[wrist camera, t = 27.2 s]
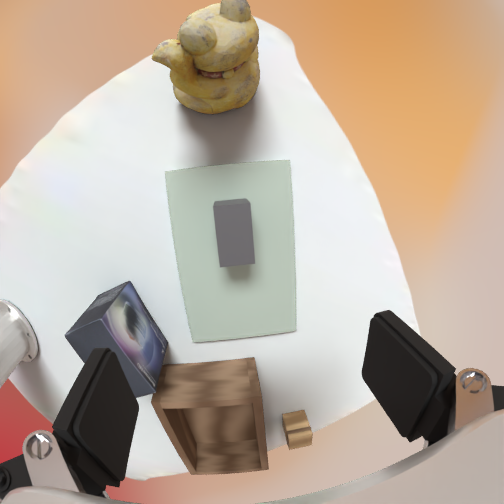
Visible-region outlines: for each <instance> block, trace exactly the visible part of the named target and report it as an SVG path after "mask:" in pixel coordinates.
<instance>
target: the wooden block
mask: <svg viewBox="0 0 504 504" xmlns="http://www.w3.org/2000/svg"><path fill="white" fill-rule="evenodd" d="M282 415H283V428H284V432H285V436H286V440H287V445H288V447H289V450H290V449H295V448H300V447H305V446H309V445H311V444H312V435H313V434H312V431H311V427H310V425H309V422H308V419H307V416H306V414H305V411H304V410H301V411H296V412H291V413H286V414H282Z"/></svg>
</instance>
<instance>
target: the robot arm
mask: <svg viewBox="0 0 504 504" xmlns="http://www.w3.org/2000/svg"><path fill="white" fill-rule="evenodd" d="M37 352H38V345H37V340H36V337H35V334H34V332H33V330H32V328H31V326H30V324H29V322H28V321H27V319H26V318H25V317H24V315H23V314H22V313H21V312H20V311H19V310H18V308H16V307H15V306H14V305H13V304H11V303H10V302H8V301H6V300H1V299H0V387H1V386H2V385H3V384H4V382H5V381H6V380H7V378H8V377H9V376H10V374H11V373H12V372H13V371H14V369H15V368H16V367H17V366H18V364H19V363H20V362H21V361H23V362H30V361H32V360H33V359H34V358H35V357H36V355H37ZM455 370H456V368H455V367H454V366H452V365H451V364H450V363H449V362H448V361H447V360H446V359H445V358H444V357H443V356H442V355H440V354H439V353H438V352H437V351H436V350H435V349H434V348H433V347H432V346H431V345H429V344H428V343H427V342H426V341H425V340H424V339H423V338H422V337H421V336H419V335H418V334H417V333H416V332H415V331H414V330H413V329H411V328H410V327H409V326H408V325H407V324H406V323H405V322H403V321H402V320H401V319H400V318H399V317H398V316H396V315H395V314H394V313H393V312H392V311H390V310H387V311H383V312H379V313H376V314H375V315H374V318H372V319H371V321H370V327H369V334H368V340H367V346H366V352H365V357H364V363H363V368H362V377H363V380H364V381H365V383H366V384H367V386H368V387H369V388H370V390H371V391H372V393H373V394H374V396H375V397H376V399H377V400H378V402H379V403H380V405H381V406H382V407H383V409H384V411H385V412H386V414H387V415H388V416H389V418H390V419H391V421H392V422H393V424H394V425H395V427H396V428H397V430H398V431H399V433H400V434H401V436H402V437H406V438H407V439H408V441H409V442H412V441H414V440H415V439H418V438H419V437H421V436H423V438H424V439H425V441H424V447H423V450H422V451H419V452H418V453H416V454H414V455H412V456H410V457H408V458H406V459H404V460H402V461H400V462H398V463H395V464H393V465H391V466H389V467H387V468H384V469H382V470H380V471H377V472H375V473H372V474H370V475H367V476H365V477H362V478H359V479H356V480H354V481H351V482H348V483H345V484H342V485H339V486H335V487H332V488H329V489H325V490H322V491H318V492H315V493H311V494H306V495H302V496H298V497H293V498H288V499H283V500H278V501H271V502H264V503H257V504H504V386H494V385H491V382H490V379H489V377H488V376H487V375H486V374H485V373H484V372H483V371H481V370H478V369H474V368H467V369H464V370H462V371H460V372H459V373H458V375H457V376H456V375H455V374H454V372H455ZM138 412H139V405H138V402H137V400H136V398H135V396H134V394H133V391H132V389H131V387H130V385H129V383H128V381H127V379H126V376H125V374H124V372H123V369H122V367H121V365H120V362H119V360H118V358H117V355H116V353H115V352H112V351H111V349H110V348H94V349H93V350H92V352H91V354H90V356H89V357H88V359H87V361H86V363H85V364H84V366H83V368H82V370H81V371H80V373H79V375H78V377H77V379H76V380H75V382H74V384H73V386H72V388H71V390H70V392H69V394H68V396H67V398H66V399H65V401H64V403H63V405H62V407H61V409H60V411H59V413H58V415H57V418H56V420H55V422H54V424H53V426H52V428H53V429H54V431H53V433H50V432H49V431H46V430H38V431H34V432H33V433H31V434H29V435H28V437H26V439H25V441H24V443H23V454H22V455H20V456H17V457H15V458H13V459H11V460H8V461H6V462H3V463H1V464H0V504H139V503H132V502H125V501H118V500H113V499H110V497H109V496H108V494H107V493H106V491H105V489H106V485H109V486H115V487H119V486H120V481H123V480H124V478H125V473H126V468H127V463H128V458H129V453H130V448H131V443H132V438H133V434H134V429H135V425H136V420H137V416H138Z"/></svg>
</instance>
